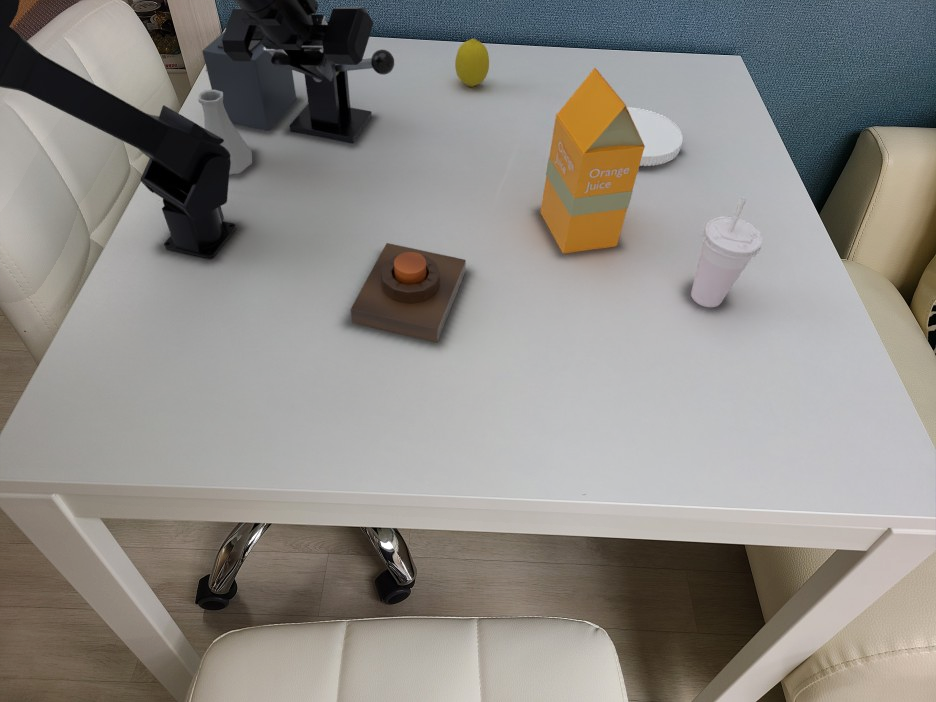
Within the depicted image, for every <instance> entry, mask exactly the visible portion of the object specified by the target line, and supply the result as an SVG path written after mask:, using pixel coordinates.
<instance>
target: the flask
mask: <svg viewBox="0 0 936 702" xmlns="http://www.w3.org/2000/svg"><path fill="white" fill-rule="evenodd" d="M197 101H198V103H199V104H201V106H202V111H203V117H204V129H206V130H208V131H210V132H211V133H213V134H215V135H217V136H218V137H220V138H222V139H224V142H223V143H221V144H220V145H222V146H223V147H225V148H226V149H227V150H228V151H229V153H230V155H231V157H230V161H231V165H230V171H229V175H237V174H241V173H242V172H244V171H245V170H246V169H247V168H248V167H249V166H251V165H252V164H253V152H252V150H251V149H250V147H249V146H248V144H247V142H246V141H245V140H244V139H243V137H242V135H241V134H240V133H239V132H238V130H237V128H236V127H235V124H232V122H231V121H230V119H229V117H228V115H227V113H226V110H225V108H224V105H223V92H221V91H218V90H212V89H204V90H203V91H201V92H199V93H198V95H197Z"/></svg>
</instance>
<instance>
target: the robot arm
mask: <svg viewBox="0 0 936 702" xmlns="http://www.w3.org/2000/svg"><path fill="white" fill-rule="evenodd" d="M20 1H21V0H0V88H3V89H9V90H14V91H19V92H22V93H24V94H27V95H30V96H31V97H34V98H36V99H38V100H40V101H42V102H43V103H46V104H48V105H49V106H52V107H54V108H55V109H58V110H59V111H62V112H63V113H66V114H68V115H69V116H72V117H74V118H76V119H77V120H80V121H82V122H84V123H86V124H88V125H90V126H91V127H94V128H96V129H98V130H100V131H102V132H104V133H106V134H108V135H110V136H112V137H114V138H116V139H118V140H119V141H122V142H124V143H126V144H128V145H130V146H132V147H134V148H136V149H138V150H139V151H140V152H141V153H142V154H143V155H145V156H146V157H147V158H148V159H149V160H148V162H147V164H146V165H145V168H144V171H143V172H142V175H141V176H140V182H141V183H142V185H144V186H145V188H146V189H147V190H148V191H149V192H151V193H152V194H155V195H157V196H158V197H160V198H161V199H162V204H163V207H162V208H161V211H162V214H163V216H164V219H165V222H166V224H167V227H168V230H169V233H170V236H169V237H168V238H167V239H166V241H164V243H163V246H164V249H165V250H170V251H174V252H178V253H183V254H187V255H192V256H196V257H201V258H205V259H213V258H214V257H215V256H216V255H217V253H218V252H219V251H220V250H221V249H222V247H223V246H224V245H225V244H226V242H227V241H228V240H229V239H230V237H231V236H232V235H233V233H234V232H235V231H236V229H237V226H236V224H235V223H233V222H228V221H225V217H224V213H223V210H222V206H223V205H225V204H227V202H228V195H229V183H230V182H229V181H230V174H229V171H230V165H231V161H230V157H231V155H230V153H229V151H228V150H227V149H226V148H225V147H223V146H222V145H220V144H221V143H223V142H224V139H222V138H220V137H218V136H217V135H215V134H213V133H211V132H210V131H208V130H206V129H205V127H203V126H201V125H199V124H198V123H196V122H195V121H192V120H191V119H189V118H188V117H185V116H183V115H182V114H181V113H179V112H177V111H175V110H173V109H171V108H170V107H168V106H167V105H165V104H164V105H162V107H161V110H160V112H159V115H154V114H149V113H147V112H144V111H143V110H142V109H139V108H137V107H136V106H134V105H132V104H130V103H128V102H127V101H126V100H123V99H121V98H120V97H118V96H116V95H115V94H113V93H111V92H109V91H107V90H106V89H103V88H102V87H100V86H98V85H97V84H95V83H93V82H92V81H89V80H88V79H86V78H84V77H83V76H80V75H79V74H77V73H75V72H74V71H73V70H70V69H68V68H66V67H65V66H63V65H61V64H59V62H58V63H57V62H56V61H54V60H53V59H51V58H49V57H47V56H45V55H43V54H42V53H41V52H39V51H38V50H37V49H36V48H35V47H34V46H32V44H30V43H29V42H28V41H27V40H26V39H25V38H24V37H23V36H22V35H21V34H20V33H18V32H17V30H15V29H13V28H12V27H11V25H12V23H13V21H14V20H15V18H16V16H17V14H18V11H19V7H20V3H21V2H20ZM234 1H235V3H236V4H237V5H238V6H239V7H235V8H232V9H231V13H230V15H229V19H228V21H227V24H226V26H225V30H224V32H223V33H224V35H223V38H222V46H223V50H224V52H225V53H226V54H227V55H228V56H229V57H230V58H231V59H232V60H233V61H239V62H250V61H251V58H252V55H253V53H252V52H251V51H250V50H249V46H250V43H251V41H262V43H261V44H262V45H263V46H264V47H263V49H264V50H265V51H266V52H269V53H270V54H271V55H272V59H271V62H272V64H273V65H275V66H281V67H285V68H288V69H291V70H292V71H294V72H297V73H300V74H303V75H304V74H306V75H309V76H311V77H314V78H317V79H320V80H323V81H325V82H331V81H332V78H333V72H332V67H331V63H330V61H331V62H333V63H335V64H337V65H357V64H359V63H360V62H361V61H362V59H364V55H365V52H366V49H367V46H368V42H369V40H370V37H371V34H372V29H373V26H374V24H375V23H374V20H373V19H372V17H371V16H370V15H369V12H368V11H367V9H366V8H365V7H363V6H359V7H358V6H357V7H353V6H351V7H350V6H349V7H348V6H347V7H344V6H343V7H339V6H338V7H334V8H332V10H331V13H330V15H329V19H328V21H326V19H327V16H326V15H325V14H317V12H318V8H319V3H318V1H317V0H234Z"/></svg>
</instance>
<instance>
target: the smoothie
mask: <svg viewBox="0 0 936 702" xmlns="http://www.w3.org/2000/svg"><path fill="white" fill-rule="evenodd" d="M746 201H747V198H746V197H741V198H740V199H739V202H738V204H737V206H736V209H735V211H734V214H733V216H717V217H714V218H712V219H710V220H709V221H708V222H707V223H706V224H705V228H704V229H703V231H702V239H703V241H702V245H701V249H700V253H699V258H698V261H697V266H696V270H695V275H694V278H693V283H692V287H691V292H690V296H691V298H692V300H693V301H694V302H695V303H696V304H697V305H700V306H701V307H704V308H716V307H719V306H720V305H721V304H722V302H723V301H724V299H725V298H726V296H727V295H728V293H729V292H730V290H731V289H732V288H733V286H734V285H735V283H736V282H737V280H738V279H739V278H740V276H741V274H743V271H744V270H745V268H746V267H747V265H748V264H749V263H750V261H751V259H752V258H753V257H755V256H757V255H758V254H759V253H760V251H761V249H762V246H763V243H764V238H763V235H762V233H761V231H760V230H759V229H758V228H757V227H755V225H753V224H752V223H750V222H748V221H747V220H744V219H741V218H739V217H740V216H741V213H742V211H743V208H744V207H745V204H746Z"/></svg>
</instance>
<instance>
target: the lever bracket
mask: <svg viewBox="0 0 936 702" xmlns="http://www.w3.org/2000/svg"><path fill="white" fill-rule="evenodd" d="M330 63H331V67H332V72H333V78H332V81H331V82H325V81H323V80H320V79H317V78H314V77H311V76H309V75H306V74H303V75H304V82H305V88H306V89H305V90H306V95H307V96H306V98H307V104H306V105H305V107H304V108H303V109H302V110H301V111H300V112H299V114H298V115H297V116H296V117H295V118H294V119H293V121H292V122H291V123H290V124H289V131H290V132H292V133H297V134H301V135H307V136H313V137H318V138H322V139H328V140H332V141H333V140H334V141H338V142H343V143H348V144H354V143H355V142H356V140H357V139H358V137H359V136H360V135H361V133H362V132H363V130H364V129H365V128H366V126H367V125H368V123H369V122H370V121H371V120H372V118H373V116H372V115H373V114H372V111H371V110H366V109H362V108H361V109H360V108H355V107H351V99H350V89H349V88H350V87H349V76H348V75H349V74H348V71H340V72H339V73H338V75H337V76H336V71H335V63H332V62H330Z"/></svg>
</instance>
